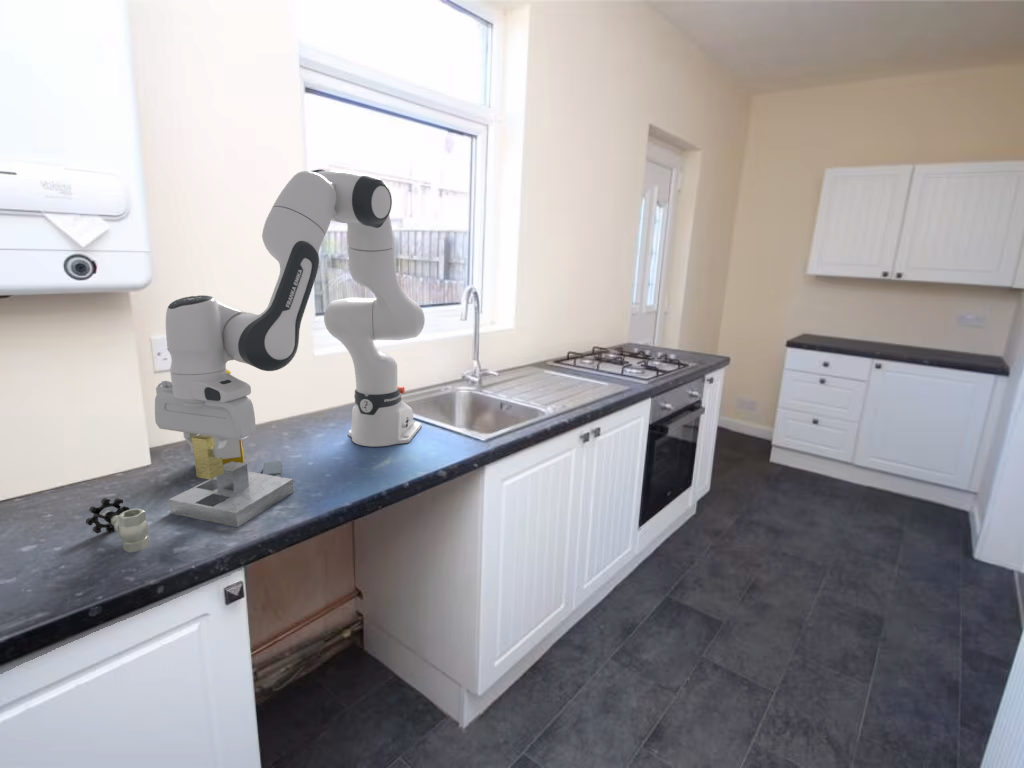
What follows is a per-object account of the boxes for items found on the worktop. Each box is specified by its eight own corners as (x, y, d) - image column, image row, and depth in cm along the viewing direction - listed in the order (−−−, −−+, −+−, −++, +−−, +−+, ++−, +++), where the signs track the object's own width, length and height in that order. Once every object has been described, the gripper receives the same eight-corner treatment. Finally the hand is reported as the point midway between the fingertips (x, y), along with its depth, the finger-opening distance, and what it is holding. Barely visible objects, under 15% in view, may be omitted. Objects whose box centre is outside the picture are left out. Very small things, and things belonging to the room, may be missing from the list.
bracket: (282, 468, 128) (281, 460, 127) (281, 485, 118) (280, 477, 118) (264, 470, 126) (263, 462, 126) (261, 488, 117) (261, 480, 116)
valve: (163, 542, 94) (129, 523, 100) (158, 508, 93) (124, 491, 98) (121, 560, 89) (88, 538, 95) (115, 524, 87) (82, 505, 93)
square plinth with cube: (233, 480, 119) (229, 447, 117) (293, 491, 115) (291, 457, 113) (170, 513, 104) (165, 475, 102) (237, 527, 100) (233, 488, 98)
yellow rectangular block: (196, 477, 101) (192, 437, 99) (210, 470, 104) (205, 432, 102) (210, 479, 100) (206, 439, 98) (223, 473, 103) (219, 434, 101)
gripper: (140, 383, 97) (150, 453, 101) (232, 394, 92) (239, 468, 95) (170, 376, 103) (178, 443, 107) (258, 386, 98) (264, 456, 101)
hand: (208, 455), depth 101 cm, fingers closed on yellow rectangular block, 3 cm apart
